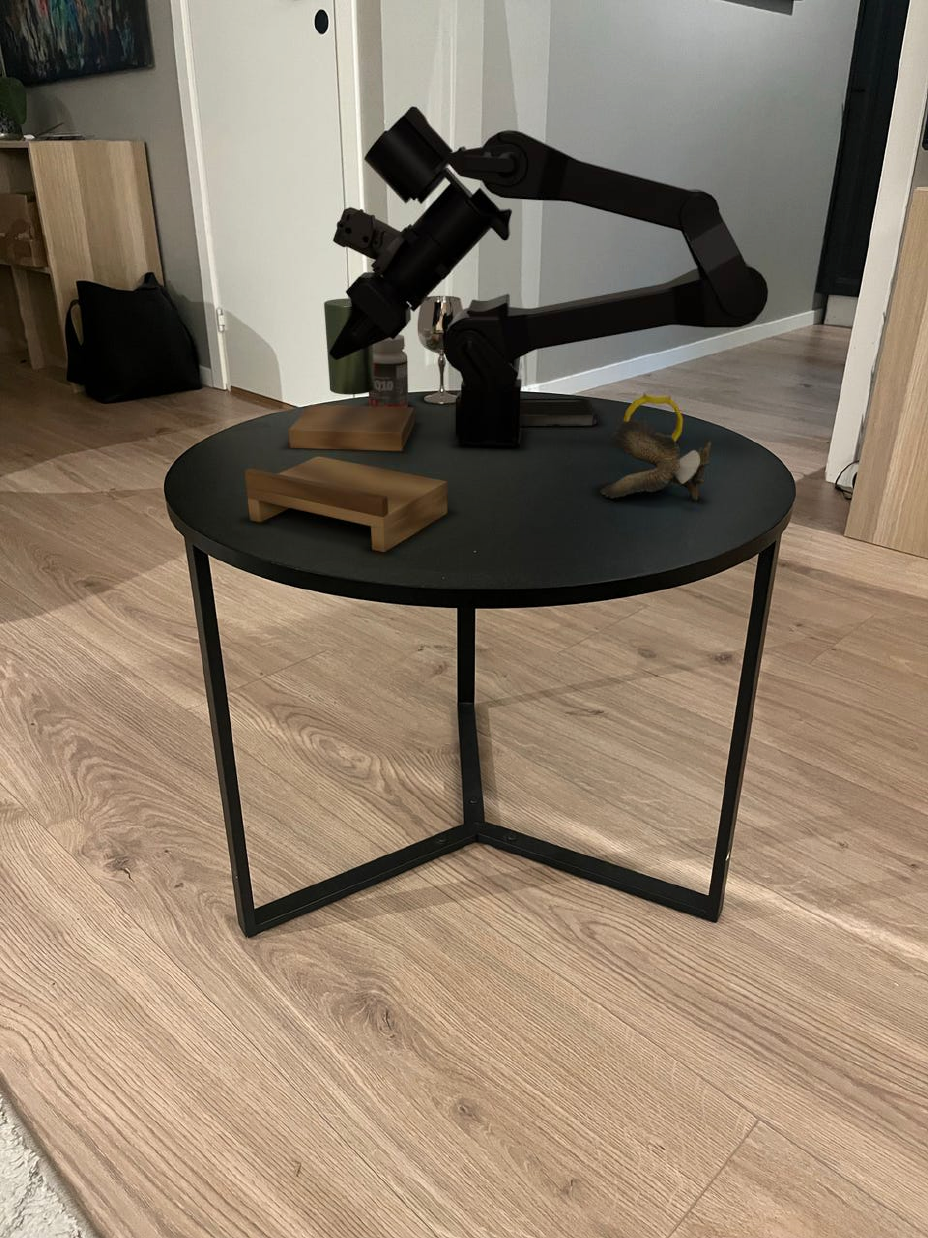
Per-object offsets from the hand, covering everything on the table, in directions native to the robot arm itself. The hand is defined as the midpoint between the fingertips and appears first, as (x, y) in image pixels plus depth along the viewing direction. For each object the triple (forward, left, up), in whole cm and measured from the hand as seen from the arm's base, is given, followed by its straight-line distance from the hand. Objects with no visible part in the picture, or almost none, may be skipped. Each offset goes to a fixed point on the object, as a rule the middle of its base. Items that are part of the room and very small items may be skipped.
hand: (337, 351), depth 101 cm
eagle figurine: (-32, +16, -9) cm, 37 cm away
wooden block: (-1, 0, -9) cm, 9 cm away
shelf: (-5, +24, -9) cm, 26 cm away
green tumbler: (-1, 0, -4) cm, 4 cm away
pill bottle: (-3, -12, -9) cm, 16 cm away
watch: (-33, +2, -9) cm, 35 cm away
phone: (-20, -9, -9) cm, 24 cm away
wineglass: (-9, -16, -9) cm, 21 cm away
